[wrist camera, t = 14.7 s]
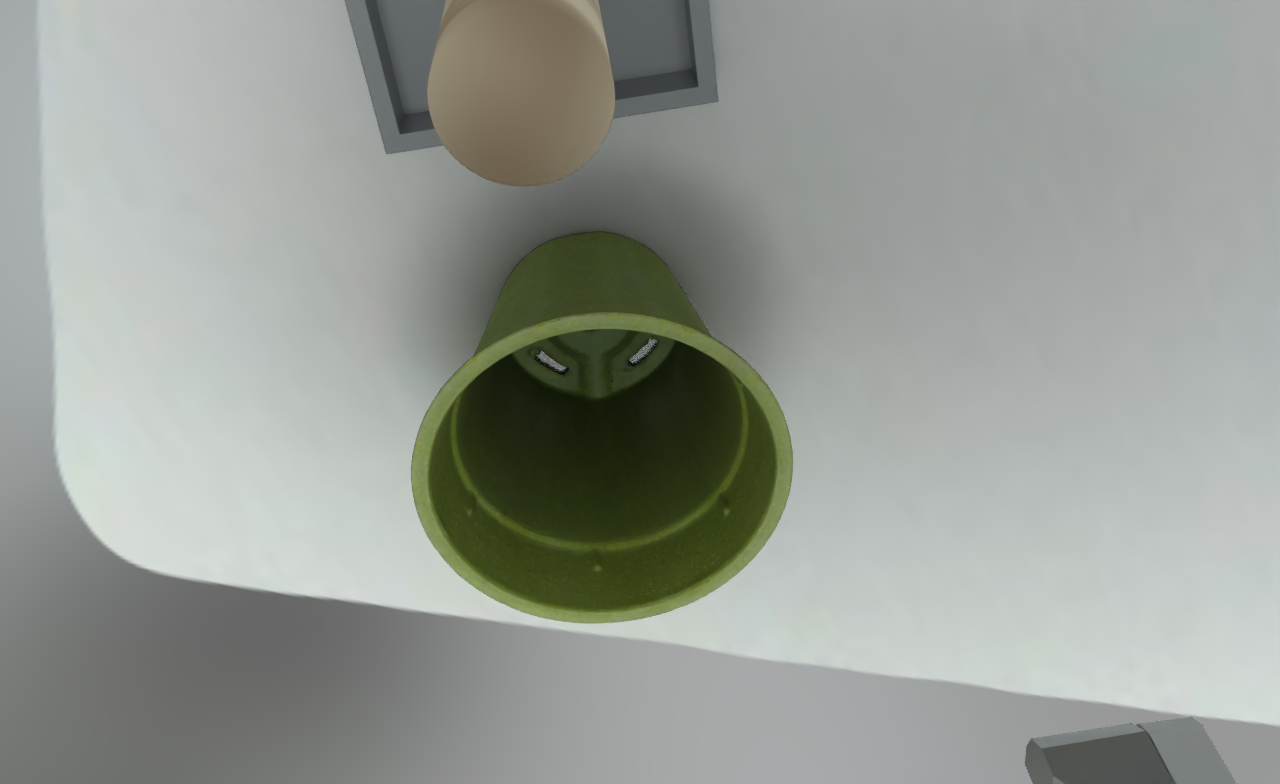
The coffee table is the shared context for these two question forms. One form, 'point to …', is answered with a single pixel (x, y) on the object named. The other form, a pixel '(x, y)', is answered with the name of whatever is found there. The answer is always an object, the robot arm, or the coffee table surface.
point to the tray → (635, 36)
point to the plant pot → (600, 444)
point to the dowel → (521, 87)
